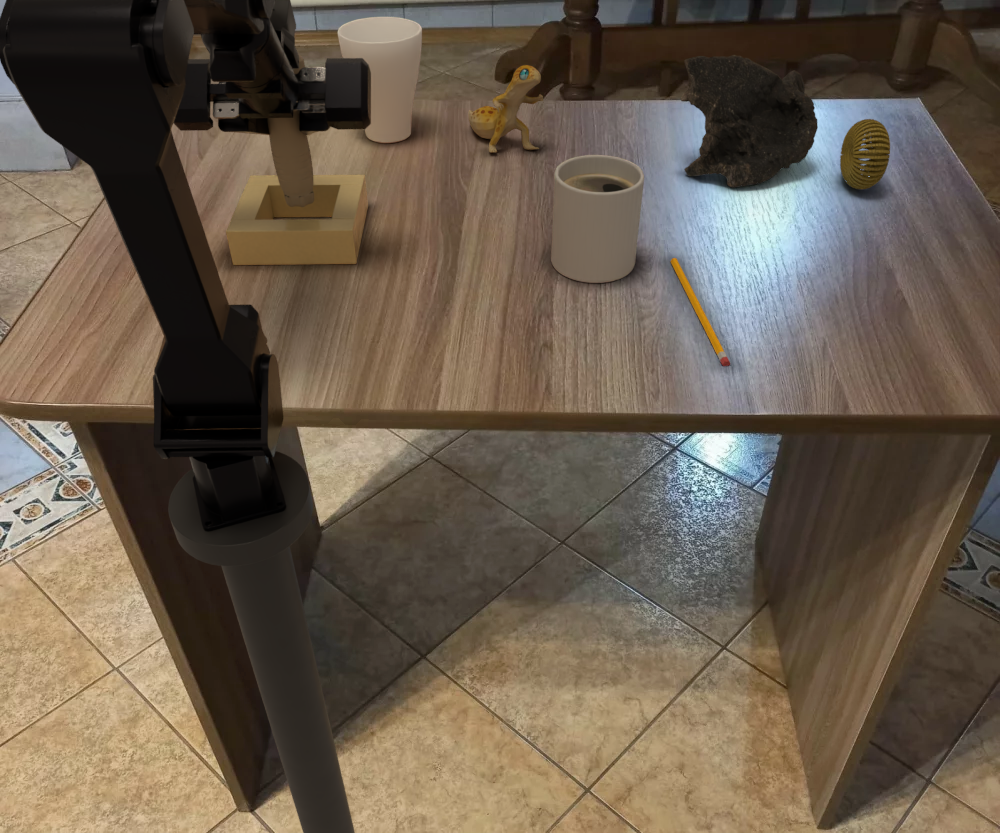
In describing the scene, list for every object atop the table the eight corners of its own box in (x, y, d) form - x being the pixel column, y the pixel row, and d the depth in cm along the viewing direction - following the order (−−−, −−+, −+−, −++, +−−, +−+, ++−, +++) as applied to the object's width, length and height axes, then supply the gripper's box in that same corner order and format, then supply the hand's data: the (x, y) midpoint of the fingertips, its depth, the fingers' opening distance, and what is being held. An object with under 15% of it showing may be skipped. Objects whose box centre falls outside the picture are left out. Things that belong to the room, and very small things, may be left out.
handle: (301, 218, 94) (273, 70, 85) (264, 202, 98) (233, 59, 89) (336, 202, 97) (313, 57, 88) (300, 187, 100) (273, 47, 91)
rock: (783, 190, 120) (797, 69, 116) (819, 191, 107) (836, 56, 104) (658, 185, 119) (667, 63, 115) (680, 185, 107) (691, 49, 103)
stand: (356, 264, 95) (352, 230, 93) (232, 265, 95) (225, 231, 92) (368, 206, 105) (364, 174, 102) (256, 207, 105) (250, 175, 102)
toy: (524, 149, 109) (518, 62, 107) (448, 156, 121) (441, 77, 118) (562, 147, 113) (558, 62, 111) (486, 154, 125) (480, 77, 122)
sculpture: (882, 201, 106) (902, 135, 101) (848, 201, 106) (866, 135, 101) (862, 171, 112) (880, 108, 107) (830, 171, 112) (846, 108, 107)
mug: (624, 289, 91) (634, 199, 85) (534, 274, 94) (537, 184, 87) (646, 239, 99) (656, 152, 93) (562, 226, 101) (566, 140, 95)
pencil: (721, 367, 82) (722, 361, 81) (669, 263, 95) (670, 258, 95) (730, 367, 82) (731, 360, 81) (677, 263, 96) (677, 257, 95)
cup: (443, 130, 122) (439, 26, 113) (392, 157, 115) (383, 49, 106) (385, 112, 126) (376, 11, 118) (332, 137, 120) (319, 32, 111)
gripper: (358, -33, 79) (380, 55, 94) (144, -32, 79) (201, 56, 94) (358, 89, 78) (380, 158, 93) (141, 91, 78) (199, 159, 93)
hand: (290, 130), depth 94 cm, fingers closed on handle, 3 cm apart
